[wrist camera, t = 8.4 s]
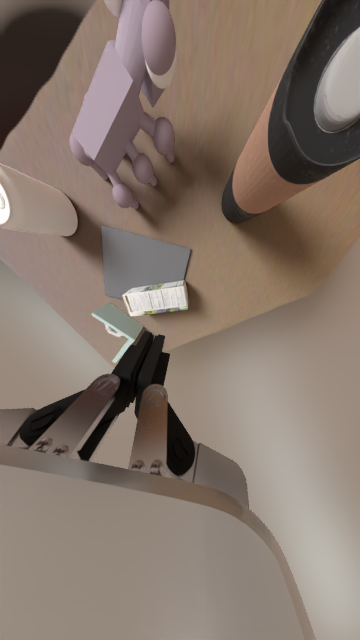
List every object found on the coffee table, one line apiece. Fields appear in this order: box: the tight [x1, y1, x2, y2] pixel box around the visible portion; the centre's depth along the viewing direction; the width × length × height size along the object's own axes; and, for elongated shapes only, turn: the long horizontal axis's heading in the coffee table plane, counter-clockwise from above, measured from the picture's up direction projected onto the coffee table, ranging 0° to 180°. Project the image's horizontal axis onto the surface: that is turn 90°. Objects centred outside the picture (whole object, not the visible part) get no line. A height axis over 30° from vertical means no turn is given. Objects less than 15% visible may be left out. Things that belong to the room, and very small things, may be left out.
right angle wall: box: [91, 302, 144, 363], centre depth 38 cm, size 12×12×8 cm
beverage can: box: [0, 163, 78, 236], centre depth 22 cm, size 8×8×12 cm
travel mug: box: [222, 0, 360, 223], centre depth 15 cm, size 8×8×20 cm
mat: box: [101, 225, 191, 312], centre depth 32 cm, size 16×20×1 cm
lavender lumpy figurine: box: [70, 0, 177, 209], centre depth 16 cm, size 20×11×14 cm, turn 131°
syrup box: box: [122, 280, 188, 316], centre depth 31 cm, size 6×6×14 cm
